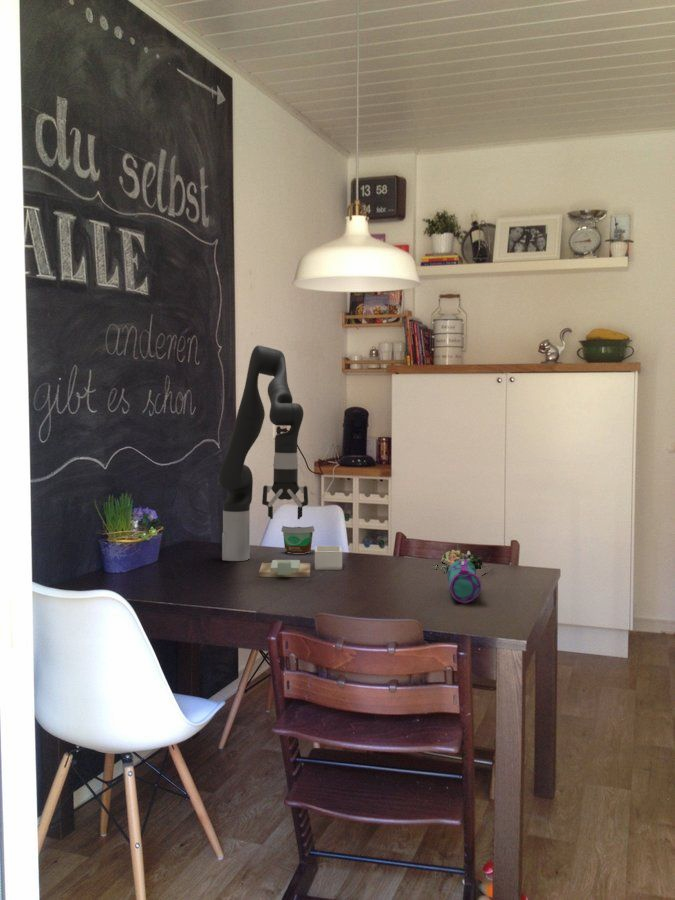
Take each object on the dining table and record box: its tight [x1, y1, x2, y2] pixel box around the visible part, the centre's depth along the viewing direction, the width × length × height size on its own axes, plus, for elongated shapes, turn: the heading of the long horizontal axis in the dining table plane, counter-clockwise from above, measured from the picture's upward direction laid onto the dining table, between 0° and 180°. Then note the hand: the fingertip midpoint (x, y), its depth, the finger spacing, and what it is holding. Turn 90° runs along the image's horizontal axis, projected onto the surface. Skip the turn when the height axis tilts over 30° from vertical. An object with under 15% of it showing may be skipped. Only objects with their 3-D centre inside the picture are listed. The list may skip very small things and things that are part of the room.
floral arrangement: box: [432, 542, 484, 569], centre depth 285 cm, size 35×28×7 cm
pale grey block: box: [270, 559, 301, 575], centre depth 271 cm, size 9×19×4 cm, turn 1°
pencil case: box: [445, 558, 482, 604], centre depth 240 cm, size 21×9×10 cm, turn 176°
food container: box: [281, 525, 316, 553], centre depth 309 cm, size 12×6×10 cm, turn 88°
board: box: [258, 562, 311, 578], centre depth 274 cm, size 16×16×2 cm
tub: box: [314, 545, 343, 571], centre depth 284 cm, size 9×12×6 cm
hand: (285, 518), depth 265 cm, fingers open, 8 cm apart
